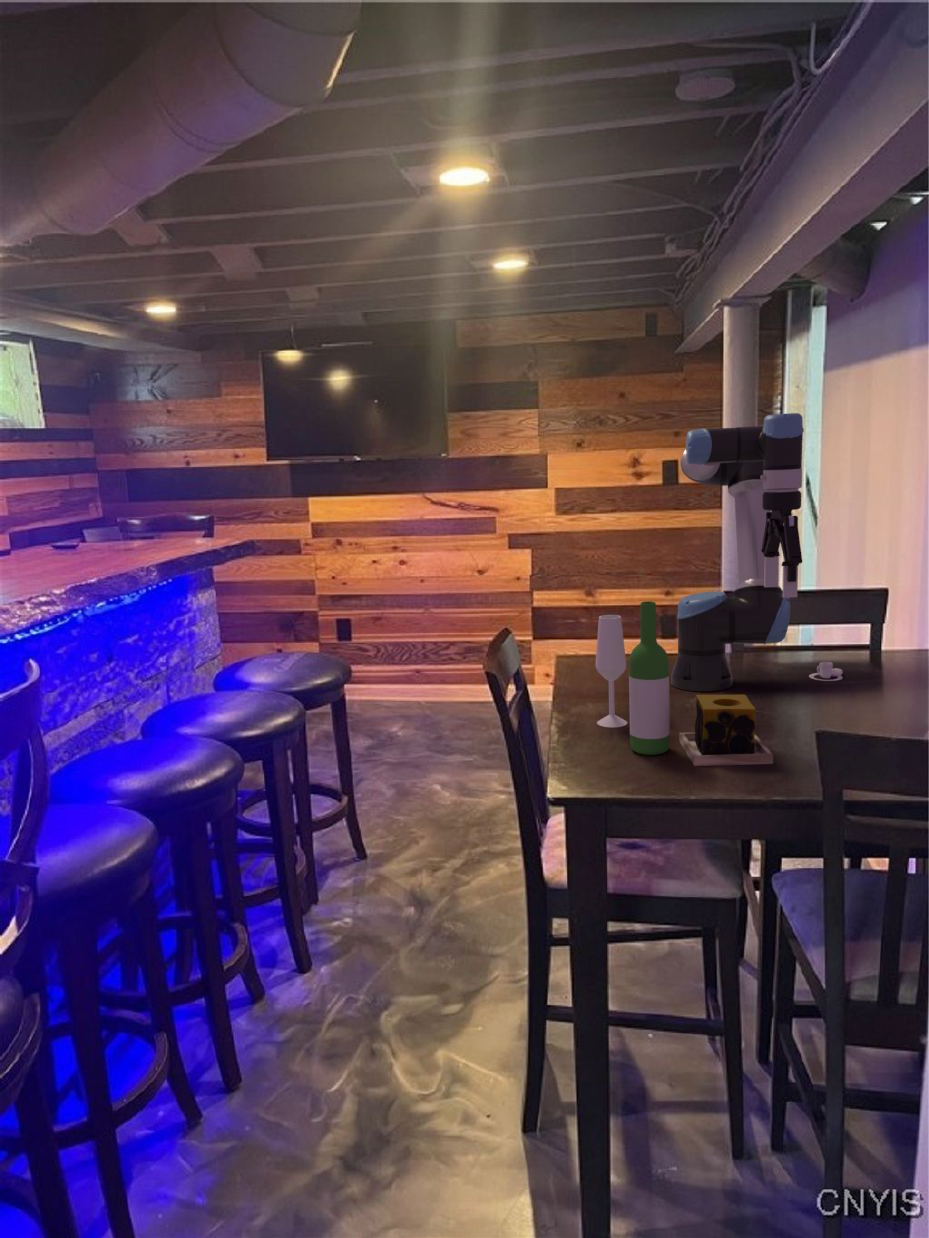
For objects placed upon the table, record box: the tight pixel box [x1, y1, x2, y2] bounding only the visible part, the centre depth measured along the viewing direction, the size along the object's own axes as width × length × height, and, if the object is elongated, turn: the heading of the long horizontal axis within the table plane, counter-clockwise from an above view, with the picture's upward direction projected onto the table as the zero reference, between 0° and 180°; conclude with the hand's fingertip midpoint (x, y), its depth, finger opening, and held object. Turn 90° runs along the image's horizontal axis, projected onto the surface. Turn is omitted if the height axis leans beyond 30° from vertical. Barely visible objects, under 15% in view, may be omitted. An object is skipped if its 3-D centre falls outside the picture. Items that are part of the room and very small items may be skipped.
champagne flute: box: [595, 614, 628, 728], centre depth 186 cm, size 7×7×24 cm
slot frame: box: [678, 731, 774, 767], centre depth 166 cm, size 15×15×2 cm
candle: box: [694, 694, 757, 755], centre depth 166 cm, size 10×10×10 cm
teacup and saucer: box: [808, 661, 844, 682], centre depth 217 cm, size 9×8×4 cm
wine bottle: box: [628, 601, 671, 756], centre depth 167 cm, size 8×8×30 cm
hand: (780, 592), depth 179 cm, fingers open, 13 cm apart
